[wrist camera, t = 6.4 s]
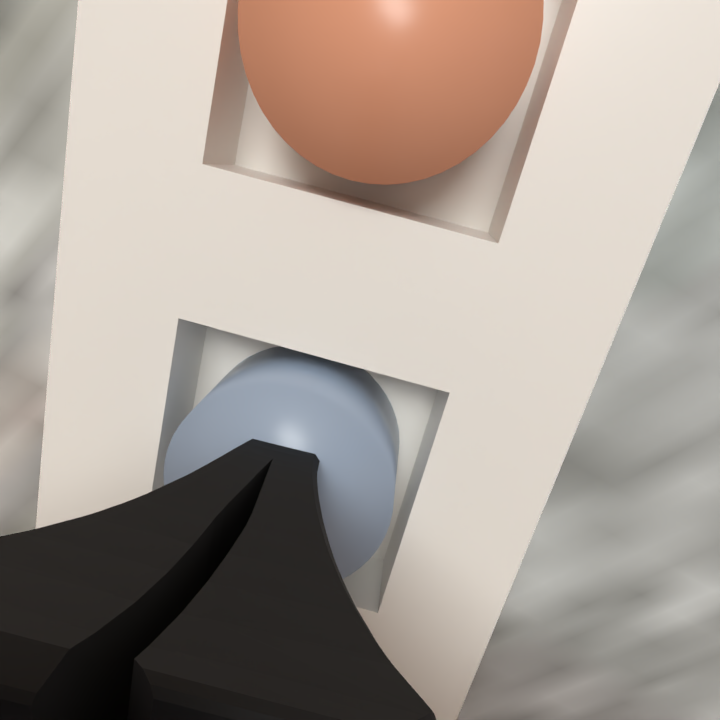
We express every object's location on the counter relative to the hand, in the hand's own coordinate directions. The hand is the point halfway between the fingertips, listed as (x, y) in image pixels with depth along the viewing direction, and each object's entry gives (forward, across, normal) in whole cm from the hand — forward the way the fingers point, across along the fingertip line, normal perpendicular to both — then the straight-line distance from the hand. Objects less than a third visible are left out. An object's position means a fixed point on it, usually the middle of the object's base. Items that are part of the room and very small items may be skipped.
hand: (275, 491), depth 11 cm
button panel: (+3, 0, 0) cm, 3 cm away
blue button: (+2, 0, 0) cm, 2 cm away
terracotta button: (+2, 0, -8) cm, 8 cm away
